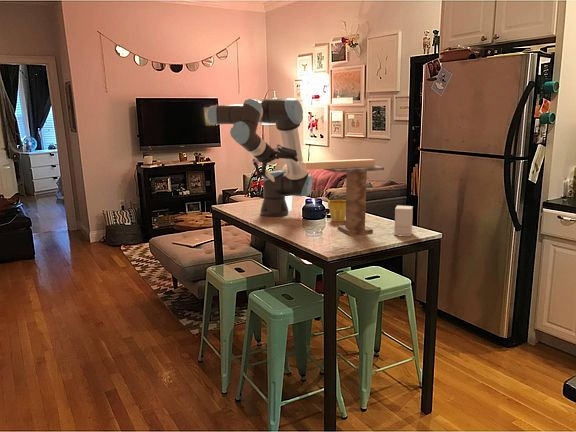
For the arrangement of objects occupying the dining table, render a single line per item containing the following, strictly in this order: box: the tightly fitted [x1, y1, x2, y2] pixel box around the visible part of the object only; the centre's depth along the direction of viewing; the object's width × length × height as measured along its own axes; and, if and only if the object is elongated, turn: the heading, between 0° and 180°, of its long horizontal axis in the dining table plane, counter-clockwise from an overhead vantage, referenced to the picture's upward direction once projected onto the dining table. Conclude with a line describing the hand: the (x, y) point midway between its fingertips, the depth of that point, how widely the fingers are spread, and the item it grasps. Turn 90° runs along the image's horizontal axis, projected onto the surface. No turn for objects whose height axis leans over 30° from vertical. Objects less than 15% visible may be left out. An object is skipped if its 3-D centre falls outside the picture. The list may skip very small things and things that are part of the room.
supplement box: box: [393, 204, 414, 237], centre depth 217 cm, size 7×7×13 cm
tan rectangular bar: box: [301, 158, 376, 171], centre depth 215 cm, size 34×5×3 cm, turn 109°
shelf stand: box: [323, 165, 385, 236], centre depth 221 cm, size 24×14×30 cm, turn 109°
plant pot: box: [327, 199, 346, 223], centre depth 245 cm, size 10×10×10 cm
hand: (286, 172), depth 213 cm, fingers open, 13 cm apart
